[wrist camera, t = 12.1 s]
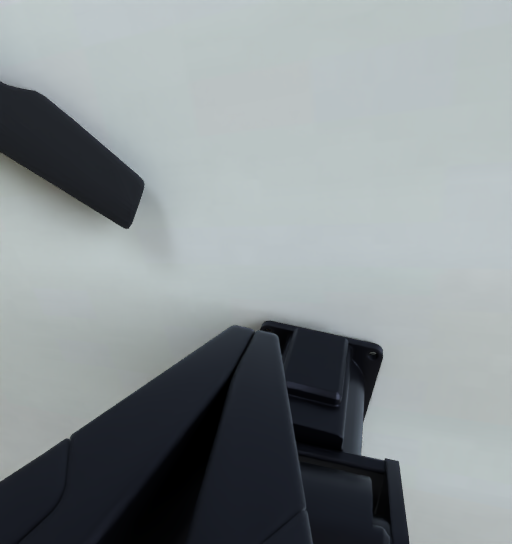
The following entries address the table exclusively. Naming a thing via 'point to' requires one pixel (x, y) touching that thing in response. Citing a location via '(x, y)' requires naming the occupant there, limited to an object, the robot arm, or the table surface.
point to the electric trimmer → (66, 155)
